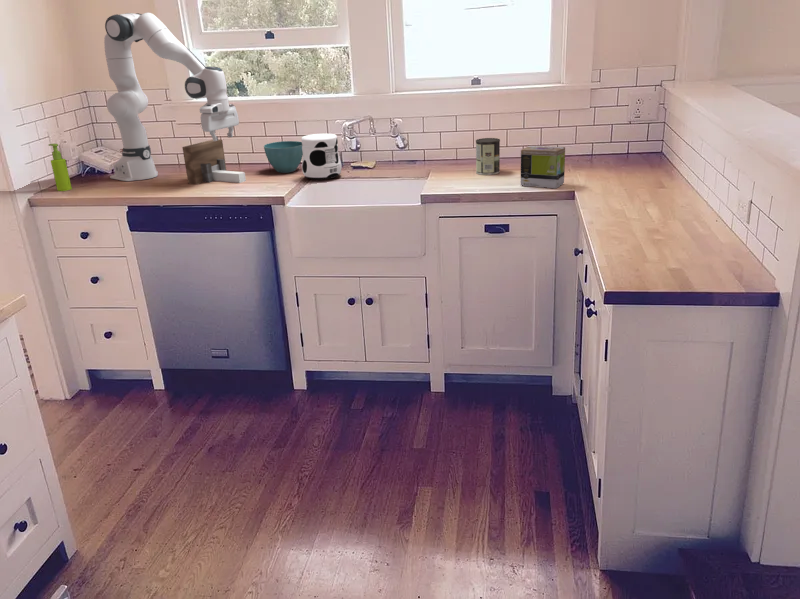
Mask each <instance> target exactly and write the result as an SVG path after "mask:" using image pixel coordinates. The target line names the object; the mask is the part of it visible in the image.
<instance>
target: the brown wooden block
mask: <svg viewBox="0 0 800 599" xmlns="http://www.w3.org/2000/svg"><path fill="white" fill-rule="evenodd" d="M181 148H182V154H183V159H184V165H185V166H184V167H185V171H186V172H185V173H186V178H187V183H188V184H192V185H198V184H201V183H212V182H214V181H213V175H212V168H211V166H214V165H219V169H220V170H223V171H228V170H227V166H226V164H227V163H226V158H225V150H224V144H223V139H218V141H213V139H210V140H206V141H202V142H197V143H194V144H189V145H186V146H181Z"/></svg>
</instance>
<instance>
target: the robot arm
mask: <svg viewBox="0 0 800 599" xmlns="http://www.w3.org/2000/svg"><path fill="white" fill-rule="evenodd" d="M105 20H106V21H105V24H104V28H105V32H106V33H105V35H104V42H103V43H104V52H105V53H104V55H105V59H106V64H107V70H108V74H109V78H110V79H111V81H112V82H113V83H114V85H115V87H116V89H117V92H115V93H113V94H112V95H111V96H110V97H109V98H108V99H107V102H106V108H107V111H108V113H109V114H110V115H111V116H112V117H113V118H114V120H115V122H116V125H117V126H118V130H119V133H120V136H121V142H122V148H120V149H119V150H120V151H119V152H120V153H121V157H120V158H119V159H118V160H117V161H116V162H115V164H114V165H113V166H114V169H113V170H114V173H113V174H112V175H110V176H109V178H110V179H112V180H117V181H118V180H119V181H121V182H133V181H141V180H148V179H153V178H156V177H158V173H159V172H158V170H157V168H156V166H155V162H154V158H153V156H152V155H151V154H152V150H151V146H150V145H149V139H148V135H147V129H146V127H145V126H144V124H143V123H142V121H141V119H140V117H139V114H141V113H143V112H144V111H145V110H146V109H147V108H148V105H149V98H148V95H146V93H145V92H144V91H143V89H142V87H141V84H140V81H139V80H138V77H137V73H136V67H135V62H134V57H133V53H132V44H133V43H134V42H135V43H138V42H141V41H144V42H145V43H146V45H147V46H148V47H149V49H150V50H152V52H153V53H154V54H155V55H156V56H158V57H159V58H160V59H165V60H170V61H174V62H177V63H179V64H182V65H183V66H185V67H186V68H187V69H188V71H189V72H190V73H191V74H192V75H191V76H189V77H187V78H186V79H185V82H184V90H185V93H186V94H187V95H188V96H189V97H190V98H191V99H194V100H195V99H196V100H198V99H205V98H206V103H204V104H203V106H201V107H200V108H199V113H200V114H201V115H200V123H201V129H202V131H203V132H208V133H209V135H210V136H211V138H212V140H213V141H218V140H219V137H218V136H217V135H216V131H218V130H223V129H228V132H227V133H226V134H227V135H226V136H227V138H233V136H234V135H233V133H234V127H235V126H239V124H240V120H239V114H238V111H237V108H236V106H235V105H234V104H233V103H229V102H230V101H229V96H228V94H227V90H228V86H227V81H226V75H225V72H224V70H223V69H222V68H220V67H218V66H206V65H204V63H203V62H202V61H201V60H200V59H199V58H198V57H197V56H196V55H195V54H194V53H193V52H192V51H191V50H190V49H189V48H188V47H187V46H186V45H184V44H183V43H182V42H181V41H180V40H179V39H178V38H177V37H176V36H175V35H174V34H173V32H171V30H169V28H168V27H167V26H166V25H165V23H163V22H162V20H160V19H159V17H157V16H156V15H155V14H154V13H152V12H144V13H138V12H137V13H134V12H132V13H131V12H126V13H119V14H117V13H116V14H112V15H111V16H108V17H107V18H106V19H105Z"/></svg>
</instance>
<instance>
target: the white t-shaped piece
mask: <svg viewBox="0 0 800 599" xmlns="http://www.w3.org/2000/svg"><path fill="white" fill-rule="evenodd" d="M211 168H212V175H213V181H212V182H225V183H236V184H241V183H244V182H247V180H246V179H247V178H246V173H245V171H233V170H227V171H223V170H220V169H219V165H214V166H211Z"/></svg>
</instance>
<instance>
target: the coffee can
mask: <svg viewBox="0 0 800 599" xmlns="http://www.w3.org/2000/svg"><path fill="white" fill-rule="evenodd" d="M500 142H501V139H500V138H496V137H485V138H484V137H483V138H482V137H481V138H477V139H475V168H476V170H475V171H476V174H477V175H480V176H492V175H498V174H500V170H501V168H500V167H501V166H500V162H501V161H500V159H501V158H500V155H501V154H500V150H501V148H500V147H501V145H500V144H501V143H500Z"/></svg>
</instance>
